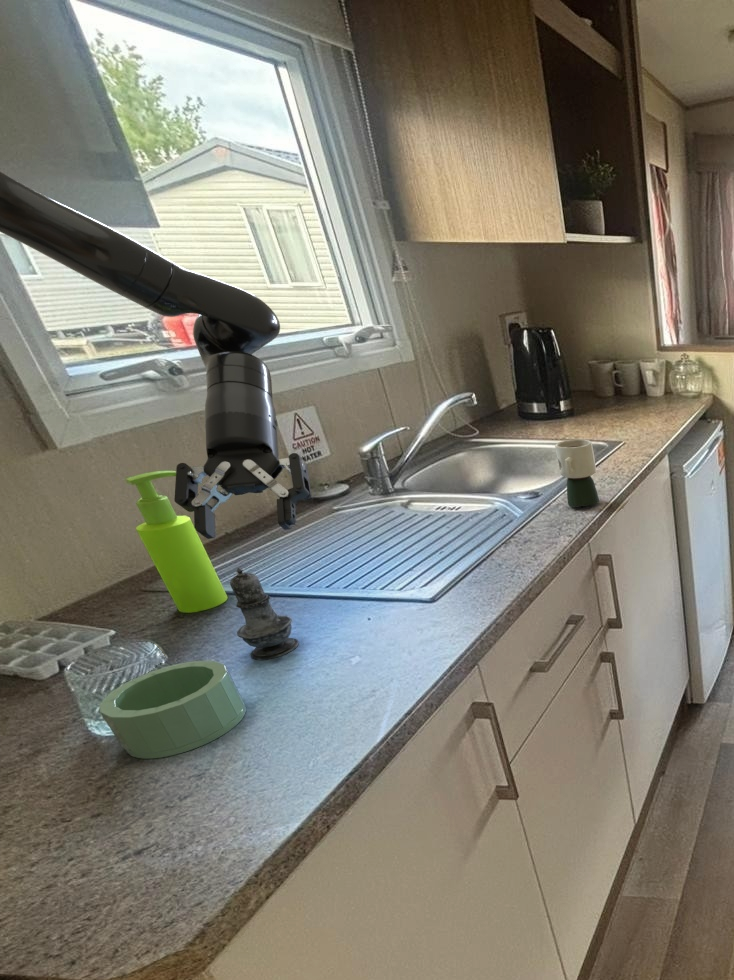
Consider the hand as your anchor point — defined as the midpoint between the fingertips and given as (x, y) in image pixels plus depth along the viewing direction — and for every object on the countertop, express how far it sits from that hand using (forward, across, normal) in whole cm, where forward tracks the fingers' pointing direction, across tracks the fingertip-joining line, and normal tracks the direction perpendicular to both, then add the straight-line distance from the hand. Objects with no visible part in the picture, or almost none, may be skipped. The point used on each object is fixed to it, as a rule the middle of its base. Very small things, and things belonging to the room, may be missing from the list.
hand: (247, 531), depth 86 cm
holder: (+26, -4, -6) cm, 27 cm away
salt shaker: (+15, 0, +6) cm, 16 cm away
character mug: (-16, +44, +36) cm, 59 cm away
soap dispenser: (+1, -14, +20) cm, 24 cm away
